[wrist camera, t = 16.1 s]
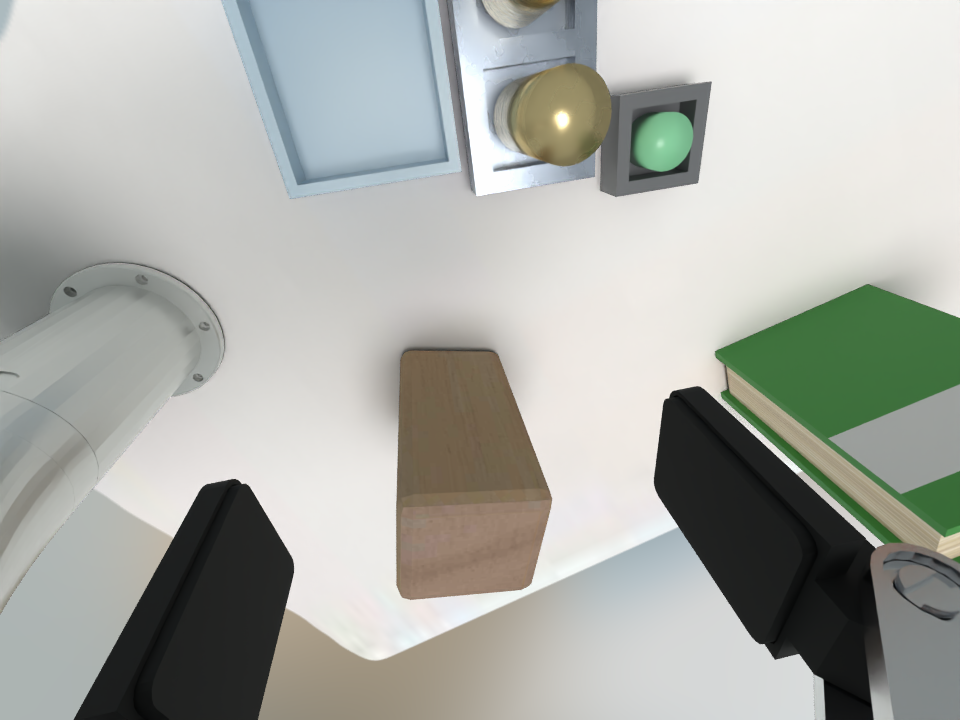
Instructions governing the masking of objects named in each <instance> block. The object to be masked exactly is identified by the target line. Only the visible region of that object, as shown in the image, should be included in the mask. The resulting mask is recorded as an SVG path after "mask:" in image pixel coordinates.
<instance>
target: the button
mask: <svg viewBox="0 0 960 720" xmlns="http://www.w3.org/2000/svg"><path fill="white" fill-rule="evenodd" d="M692 141H693V128H692V125H691V122H690V121H689V119H688V118H687V117H686V116H685V115H683V114H682V113H679V112H650V113H646V114H644V115H642V116H640V117H639V118H637V119H636V120H635V121H634V122H633V124H632V128H631V147H630V162H631V163H632V164H633V165H635V166H637V167H641V168H646V169H650V170H655V171H660V172H663V171H668V170H671V169H673V168H675V167H676V166H678V165H679V164H680V163H681V162H682V161H683V160H684V159H685V157H686V156H687V154H688V152H689V150H690V148H691V145H692Z"/></svg>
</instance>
